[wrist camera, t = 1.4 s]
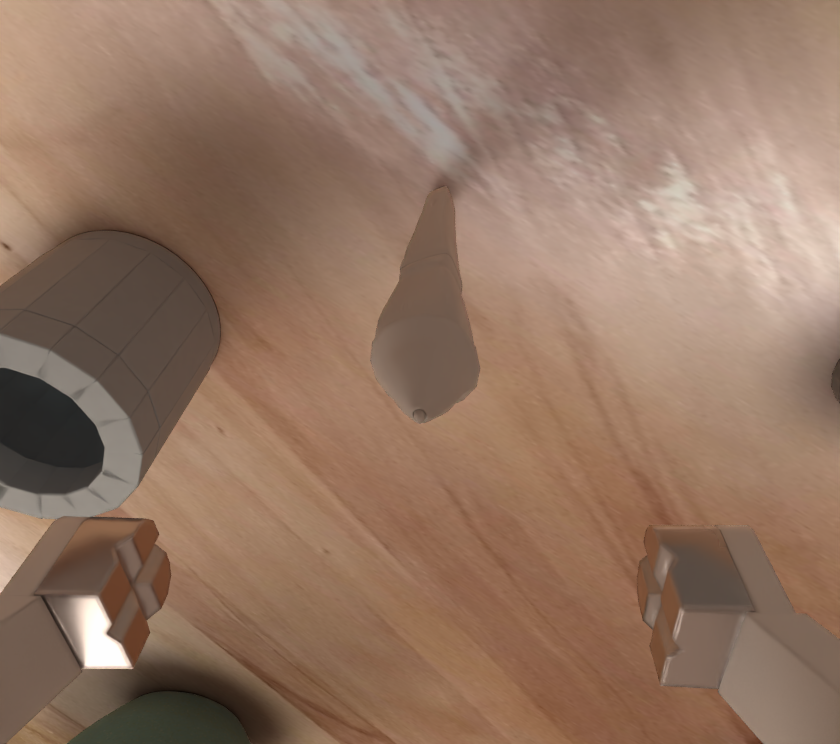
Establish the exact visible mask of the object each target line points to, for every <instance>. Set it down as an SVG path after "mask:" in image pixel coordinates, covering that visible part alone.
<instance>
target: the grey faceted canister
mask: <svg viewBox="0 0 840 744" xmlns="http://www.w3.org/2000/svg"><path fill="white" fill-rule="evenodd" d="M219 343H220V322H219V316H218V313H217V309H216V306H215V304H214V301H213V299H212V297H211V295H210V293H209V291H208V290H207V288H206V287H205V285H204V283H203V282H202V281H201V280H200V278H199V277H198V276H197V274H196V273H195V272H194V271H193V270H192V269H191V268H190V267H189V266H188V265H187V264H186V263H185V262H183V261H182V260H181V259H180V258H179V257H177V256H176V255H175V254H173V253H172V252H170V251H169V250H167V249H166V248H164V247H162V246H160V245H158V244H157V243H155V242H153V241H150V240H148V239H145V238H143V237H140V236H137V235H133V234H130V233H124V232H118V231H91V232H87V233H82V234H79V235H76V236H74V237H71V238H69V239H68V240H66V241H64V242H63V243H61V244H60V245H58V246H57V247H56V248H54V249H53V250H51V251H49V252H47V253H45V254H43V255H42V256H41V257H39V258H38V259H36V260H35V261H34V262H32V263H31V264H30V265H28V266H27V267H25V268H24V269H23V270H21V271H20V272H19V273H17V274H16V275H14V276H13V277H12V278H10V279H9V280H8V281H6V282H5V283H3V284H2V285H1V286H0V507H1V508H5V509H9V510H12V511H16V512H19V513H23V514H26V515H30V516H33V517H37V518H40V519H43V518H44V519H59V518H60V517H62V516H77V517H93V516H96V515H99V514H102V513H104V512H107V511H110V510H113V509H116V508H118V507H119V506H120V505H121V504H122V503H123V502H124V501H125V500H126V499H127V498H128V497H129V496H130V494H131V493H132V492H133V491H134V490H135V489H136V488H137V487H138V486H139V484H140V482H141V481H142V479H143V477H144V476H145V474H146V472H147V471H148V469H149V468H150V466H151V464H152V463H153V461H154V459H155V458H156V456H157V454H158V453H159V451H160V449H161V448H162V446H163V445H164V443H165V441H166V440H167V438H168V436H169V435H170V433H171V432H172V430H173V428H174V427H175V425H176V423H177V422H178V420H179V419H180V417H181V415H182V414H183V412H184V410H185V409H186V407H187V405H188V404H189V402H190V401H191V399H192V397H193V396H194V394H195V392H196V391H197V389H198V388H199V386H200V384H201V383H202V381H203V379H204V378H205V376H206V374H207V373H208V371H209V369H210V365H211V364H212V362H213V360H214V358H215V356H216V354H217V351H218V348H219Z"/></svg>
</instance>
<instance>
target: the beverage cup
mask: <svg viewBox="0 0 840 744" xmlns="http://www.w3.org/2000/svg"><path fill="white" fill-rule="evenodd" d="M831 387H832V390H833V392H834V395H835V397H836V399H837V400H838V401H839V403H840V359H839V361H838V363H837V365H836V367H835V369H834V371H833V373H832V384H831Z"/></svg>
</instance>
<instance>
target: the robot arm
mask: <svg viewBox="0 0 840 744" xmlns="http://www.w3.org/2000/svg"><path fill="white" fill-rule="evenodd" d="M158 536H159V532H158V530H157V528H156V525H155V523H154V521H153V520H149V519H140V518H115V517H77V516H62V517H60V518H59V519H57V520H55V521H54V522H53V523H52V524H51V525H50V527H49V528H48V529H47V531H46V532H45V534H44V535H43V536H42V538H41V539H40V540H39V542H38V543H37V544H36V546H35V547H34V549H33V550H32V551H31V553H30V554H29V555H28V557H27V558H26V559H25V561H24V562H23V564H22V565H21V566H20V568H19V569H18V570H17V572H16V573H15V574H14V576H13V577H12V578H11V580H10V581H9V583H8V584H7V585H6V587H5V588H4V589H3V591H2V592H1V593H0V744H6V743H7V742H8V741H9V740H10V739H11V738H12V737H13V736H14V735H15V734H16V733H17V732H18V731H19V730H21V729H22V728H23V727H24V726H25V725H26V724H27V723H28V722H29V721H30V720H31V719H32V718H33V717H34V716H36V715H37V714H38V713H39V712H40V711H41V710H42V709H43V708H44V707H45V706H46V705H47V704H48V703H49V702H50V701H52V700H53V699H54V698H55V697H56V696H57V695H58V694H59V693H60V692H61V691H62V690H63V689H64V688H65V687H67V686H68V685H69V684H70V683H71V682H72V681H73V680H74V679H75V678H76V677H77V676H78V675H79V674H80V673H81V672H82V669H133V668H134V666H135V663H136V661H137V659H138V657H139V655H140V653H141V651H142V649H143V647H144V644H145V642H146V640H147V638H148V636H149V634H150V630H149V626H148V623H147V620H148V619H149V618H150V617H151V616H153V615H154V614H155V613H156V612H158V611H159V610H160V609H161V608H162V606H163V603H164V601H165V599H166V597H167V594H168V590H169V585H170V579H171V570H170V562H169V559H168V556H167V553H166V552H165V551H163V550H162V549H161V548H159V547H158V546H157V545H156V544H155V542H156V540H157V538H158ZM644 546H645V549H646V552H647V556H645V557H644V558H643V559H642V560H640V561H639V567H638V573H637V594H638V601H639V607H640V611H641V615H642V619H643V621H644V622H645V623H646V624H647V625H648V626H649V627H650V628H651V629H652V630H653V633H652V637H651V642H650V650H651V653H652V657H653V661H654V664H655V668H656V672H657V675H658V679H659V683H660V686H674V687H691V688H708V689H719V690H718V693H719V694H720V695H721V696H722V697H723V699H724V700H725V701H726V702H727V703H728V704H729V705H730V706H731V708H732V709H733V710H734V711H735V712H736V713H737V714H738V716H739V717H740V718H741V719H742V720H743V721H744V722H745V724H746V725H747V726H748V727H749V728H750V729H751V730H752V731H753V733H754V734H755V735H756V736H757V737H758V738H759V739H760V741H761V742H762V743H763V744H840V639H839V638H837V637H836V636H835V635H833V634H832V633H831V632H829V631H828V630H827V629H825V628H824V627H823V626H822V625H820V624H819V623H818V622H816V621H815V620H814V619H812V618H811V617H810V616H809V615H807V614H800V613H795V611H794V609H793V607H792V605H791V603H790V601H789V599H788V597H787V595H786V593H785V591H784V589H783V587H782V585H781V583H780V581H779V579H778V577H777V575H776V573H775V571H774V569H773V567H772V565H771V563H770V561H769V559H768V557H767V555H766V553H765V551H764V549H763V547H762V545H761V543H760V542H759V540H758V538H757V536H756V534H755V532H754V530H753V529H752V528H750V527H749V526H748V525H715V526H712V525H649V526H648V528H647V530H646V533H645V537H644Z"/></svg>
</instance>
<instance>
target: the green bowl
mask: <svg viewBox="0 0 840 744" xmlns="http://www.w3.org/2000/svg"><path fill="white" fill-rule="evenodd" d="M67 744H251V743H250V741H249V739H248V737H247V734H246V732H245V730H244V728H243V726H242V725H241V723H240V722H239V720H238V719H237V718H236V716H235V715H234V714H233V713H231V712H230V711H229V710H228V709H226V708H225V707H224V706H222V705H220V704H218V703H216V702H215V701H213V700H210V699H208V698H205V697H202V696H199V695H195V694H191V693H185V692H177V691H161V692H153V693H149V694H146V695H143V696H141V697H138V698H136V699H134V700H132V701H131V702H129V703H127V704H125V705H123V706H121V707H120V708H118V709H116V710H115V711H113V712H111V713H110V714H108V715H106V716H105V717H103V718H102V719H100V720H98V721H97V722H95V723H94V724H92V725H91V726H89V727H88V728H86V729H85V730H83V731H82V732H81V733H80V734H78V735H77V736H76V737H75V738H73V739H72V740H71V741H69V742H68V743H67Z"/></svg>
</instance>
